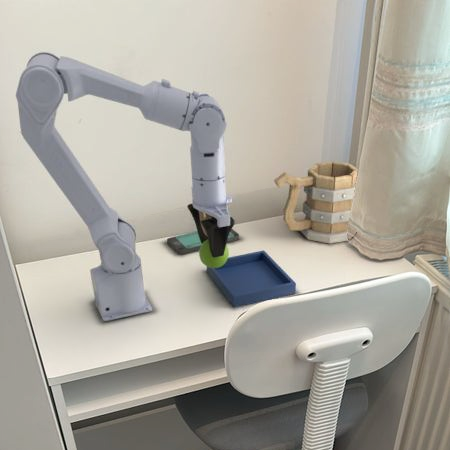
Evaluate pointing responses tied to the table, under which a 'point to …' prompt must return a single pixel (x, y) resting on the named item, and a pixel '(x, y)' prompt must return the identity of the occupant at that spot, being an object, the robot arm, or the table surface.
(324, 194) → the tankard
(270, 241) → the table surface
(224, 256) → the snail figurine
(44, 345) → the table surface
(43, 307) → the table surface
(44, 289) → the table surface
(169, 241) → the smartphone
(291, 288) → the tray
